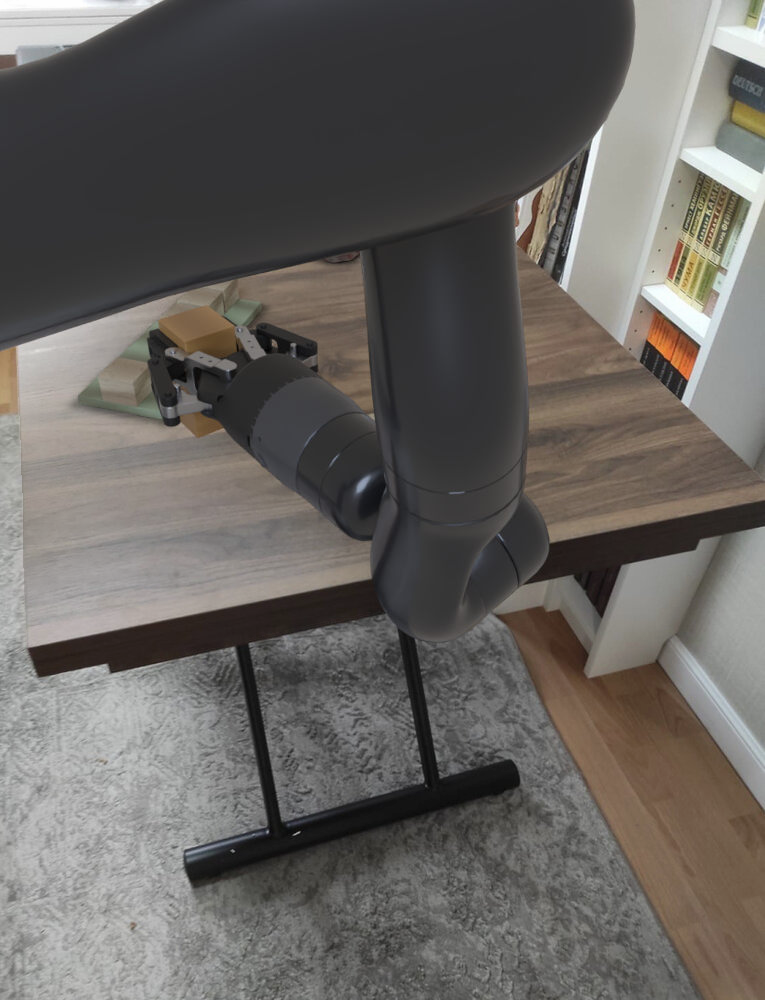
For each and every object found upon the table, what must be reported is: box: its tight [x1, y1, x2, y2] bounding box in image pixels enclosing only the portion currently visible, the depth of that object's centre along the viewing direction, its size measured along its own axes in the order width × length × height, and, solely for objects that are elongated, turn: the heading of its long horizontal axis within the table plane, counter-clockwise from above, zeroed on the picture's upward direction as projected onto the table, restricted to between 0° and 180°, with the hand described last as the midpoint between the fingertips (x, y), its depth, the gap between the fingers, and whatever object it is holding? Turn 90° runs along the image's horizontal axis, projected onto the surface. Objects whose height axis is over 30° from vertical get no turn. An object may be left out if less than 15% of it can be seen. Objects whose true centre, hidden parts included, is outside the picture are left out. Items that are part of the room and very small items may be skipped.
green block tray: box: [77, 279, 263, 421], centre depth 95 cm, size 26×10×4 cm, turn 164°
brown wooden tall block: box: [157, 305, 237, 439], centre depth 68 cm, size 4×4×9 cm
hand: (182, 331), depth 68 cm, fingers closed on brown wooden tall block, 4 cm apart
